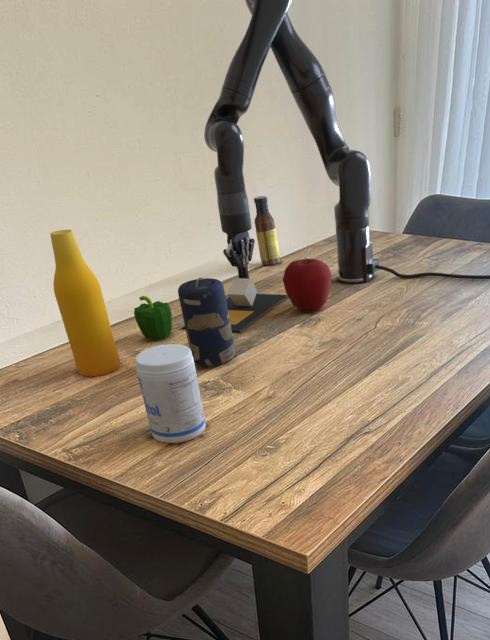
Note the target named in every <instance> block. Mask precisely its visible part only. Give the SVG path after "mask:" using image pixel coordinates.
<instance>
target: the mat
mask: <svg viewBox="0 0 490 640" xmlns="http://www.w3.org/2000/svg"><path fill="white" fill-rule="evenodd" d="M286 297H288V295H287V294H272V293H271V294H270V293H256V296H255V299H254V302H253V305H252V306H235V304H234V303H233V301H232V300H231V298H230V297H229V296H228V298H226V302H227V308H228V313H229V319H230V324H231V331H232V333H235V334H239V333H241V332H242V331H241V330H243V329H244V328H246V327H247V326H249V324H251V323H253V322H254V321H255V320H256V319H258V318H259V317H260V316H261V315H263V314H264V313H266V312H267V311H269V310H270V309H271V308H273V307H274V306H275V305H277V304H278V303H279V302H281V301H282V300H283V299H285V298H286ZM182 330H186V329H185V325H184V326H182Z"/></svg>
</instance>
